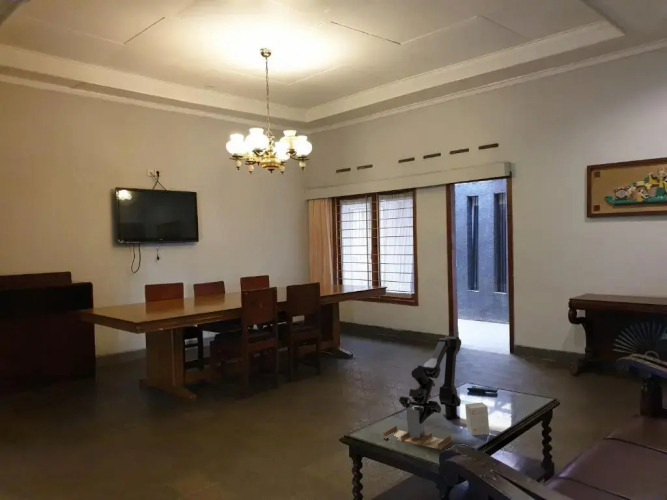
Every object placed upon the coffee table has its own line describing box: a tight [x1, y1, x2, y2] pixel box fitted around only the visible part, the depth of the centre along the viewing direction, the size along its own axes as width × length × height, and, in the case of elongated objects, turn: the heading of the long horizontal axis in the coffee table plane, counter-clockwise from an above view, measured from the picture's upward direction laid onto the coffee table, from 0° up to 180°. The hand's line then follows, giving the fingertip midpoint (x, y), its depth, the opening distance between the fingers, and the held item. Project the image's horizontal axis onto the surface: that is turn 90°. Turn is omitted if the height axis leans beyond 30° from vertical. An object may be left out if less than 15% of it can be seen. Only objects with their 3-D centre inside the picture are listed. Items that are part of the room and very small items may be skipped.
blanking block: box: [405, 405, 426, 439], centre depth 224 cm, size 6×4×12 cm, turn 51°
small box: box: [465, 402, 490, 437], centre depth 227 cm, size 8×6×13 cm
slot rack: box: [383, 424, 452, 450], centre depth 224 cm, size 28×10×3 cm, turn 51°
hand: (413, 422), depth 223 cm, fingers closed on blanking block, 6 cm apart
